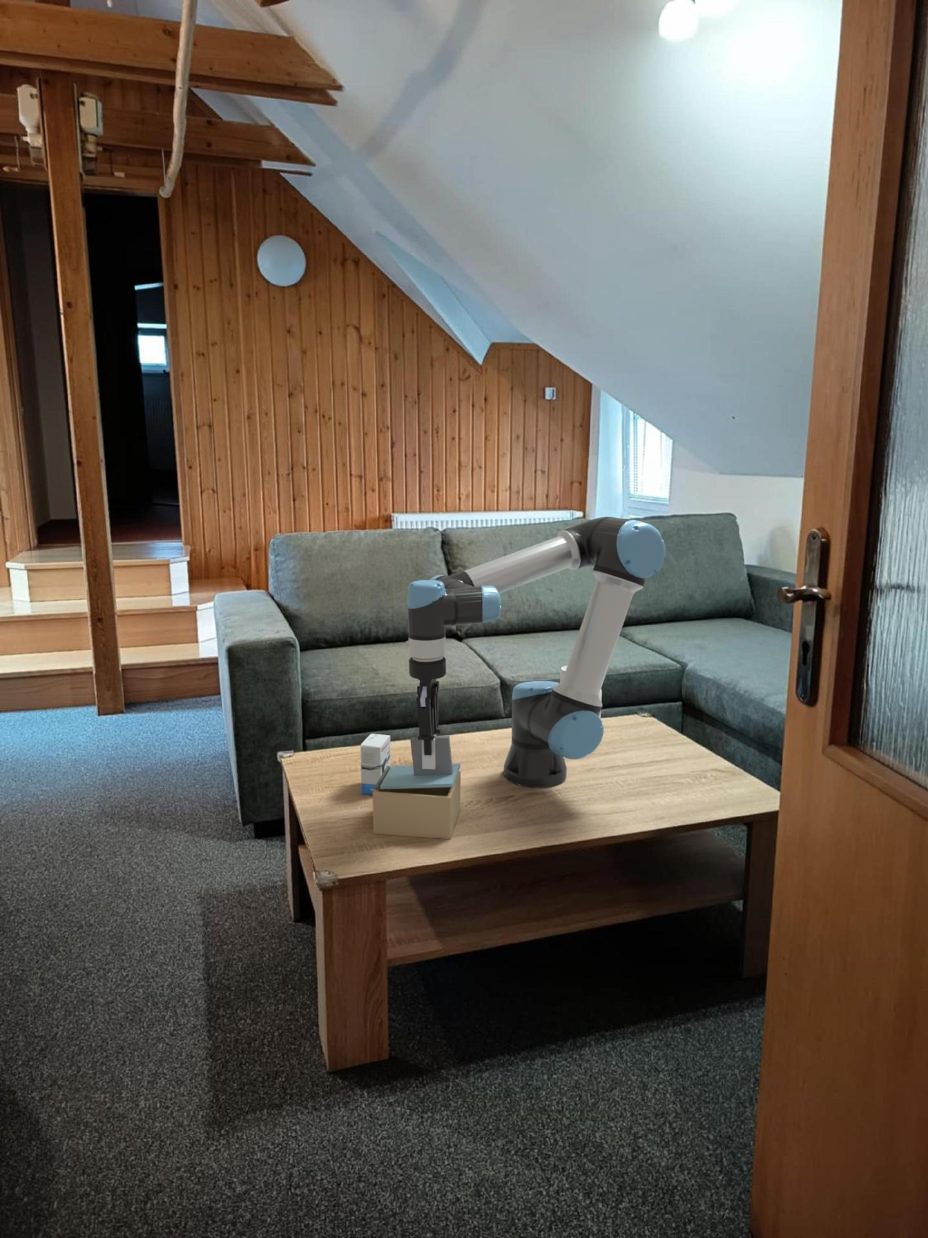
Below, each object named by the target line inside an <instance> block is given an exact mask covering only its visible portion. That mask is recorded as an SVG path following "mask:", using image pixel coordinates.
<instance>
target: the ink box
mask: <svg viewBox="0 0 928 1238" xmlns="http://www.w3.org/2000/svg"><path fill="white" fill-rule="evenodd" d="M387 766H390V767H391V735H388V734H379V733H370V734H369V735H368V736H367V737H366V738H365V740H363V742H361V743H360V774H361V776H360V777H361V778H360V780H361V784H360V785H361V794H363V795H372V796H373V792H374V790H375V785H376V784H377V782H378V781H379V779H380V777H381V776H382V774H383V772H384V771H385V769H386V767H387Z"/></svg>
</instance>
